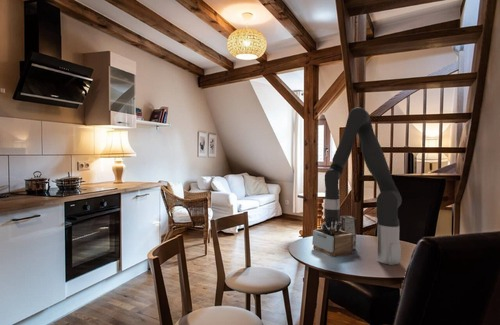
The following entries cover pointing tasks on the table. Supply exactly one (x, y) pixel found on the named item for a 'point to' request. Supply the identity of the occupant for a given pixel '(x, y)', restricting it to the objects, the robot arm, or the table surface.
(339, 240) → the pickup bed
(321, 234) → the panel
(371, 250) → the table surface
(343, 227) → the coffee box
